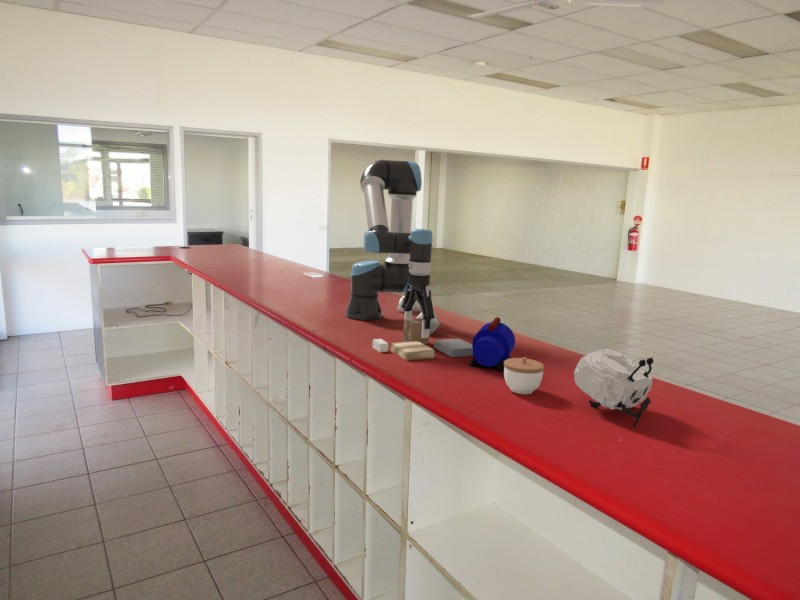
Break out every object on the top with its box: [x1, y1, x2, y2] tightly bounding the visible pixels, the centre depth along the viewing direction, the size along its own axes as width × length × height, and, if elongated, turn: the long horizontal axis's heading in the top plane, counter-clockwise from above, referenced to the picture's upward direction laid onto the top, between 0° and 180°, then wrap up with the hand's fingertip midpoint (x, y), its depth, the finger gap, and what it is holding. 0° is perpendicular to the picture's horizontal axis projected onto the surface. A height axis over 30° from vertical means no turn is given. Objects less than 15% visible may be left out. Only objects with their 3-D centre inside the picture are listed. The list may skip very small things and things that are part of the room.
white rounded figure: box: [396, 295, 421, 313], centre depth 250 cm, size 9×11×12 cm
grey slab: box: [433, 338, 473, 358], centre depth 191 cm, size 12×10×3 cm
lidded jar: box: [503, 356, 545, 395], centre depth 154 cm, size 11×11×9 cm
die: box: [415, 311, 441, 335], centre depth 215 cm, size 8×9×10 cm
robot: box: [573, 348, 655, 429], centre depth 141 cm, size 17×20×18 cm
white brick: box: [372, 338, 389, 353], centre depth 189 cm, size 6×3×3 cm, turn 26°
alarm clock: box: [467, 317, 516, 372], centre depth 175 cm, size 12×12×15 cm
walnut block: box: [402, 317, 430, 345], centre depth 200 cm, size 6×7×8 cm
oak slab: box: [390, 341, 436, 361], centre depth 185 cm, size 12×10×3 cm
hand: (416, 333), depth 199 cm, fingers open, 13 cm apart
